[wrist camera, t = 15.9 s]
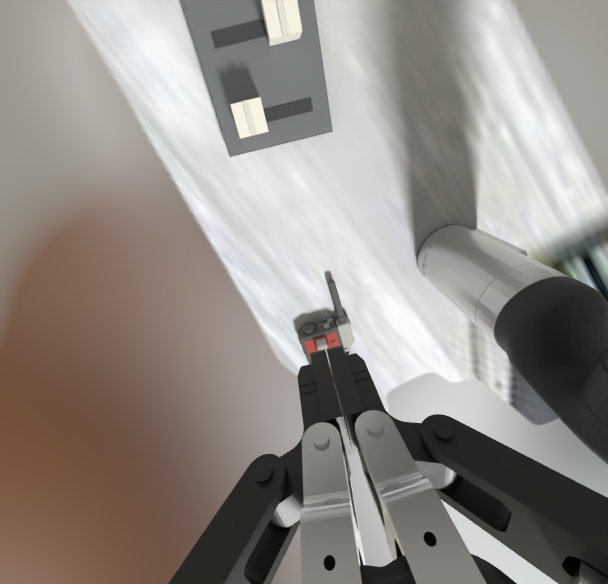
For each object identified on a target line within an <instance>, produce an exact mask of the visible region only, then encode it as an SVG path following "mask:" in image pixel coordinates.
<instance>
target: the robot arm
mask: <svg viewBox="0 0 608 584" xmlns="http://www.w3.org/2000/svg"><path fill="white" fill-rule="evenodd" d="M417 262H418V268H419V270H420V272H421V274H422V275H423V276H424V277H425V278H426V279H427V280H428V281H429V282H430V283H432V284H433V285H434V286H435V287H436V288H437V289H438V290H439V291H440V292H441V293H442V294H443V295H444V296H446V297H447V298H448V299H449V300H450V301H451V302H452V303H453V304H454V305H455V306H456V307H458V308H459V309H460V310H461V311H462V312H463V313H464V314H465V315H466V316H467V317H468V318H470V319H471V320H472V321H473V322H474V323H475V324H476V325H477V326H478V327H479V328H480V329H482V330H483V331H484V332H485V333H486V334H487V335H488V336H489V337H490V338H491V339H493V340H494V341H495V342H496V343H497V344H498V345H499V346H500V347H501V348H502V349H503V350H504V351H505V352H506V353H507V355H508V358H509V360H510V363H511V365H512V366H513V368H514V369H515V371H516V372H517V373H518V374H519V376H520V377H521V378H522V379H523V380H524V381H525V382H526V383H527V384H528V385H529V386H530V387H531V388H532V389H533V391H534V392H535V393H536V394H537V395H538V396H539V397H540V398H541V399H542V400H543V401H544V402H545V403H546V404H547V405H548V407H549V408H550V409H551V410H552V411H553V412H554V413H555V414H556V415H557V416H558V417H559V418H560V419H561V421H563V423H564V424H565V425H566V426H567V427H568V428H569V429H570V430H571V431H572V432H573V433H574V434H575V435H576V436H577V437H578V438H579V439H580V440H581V441H582V442H583V443H584V444H585V445H586V446H587V447H588V448H589V449H590V450H591V451H592V452H594V453H595V454H596V455H597V456H598V457H599V458H600V459H602V460H603V461H604V462H605V463H607V464H608V302H607V301H606V299H605V298H604V296H603V295H602V294H601V293H599V292H598V291H597V290H595V289H594V288H592V287H590V286H588V285H586V284H584V283H582V282H580V281H578V280H576V279H573V278H571V277H569V276H567V275H565V274H563V273H561V272H559V271H557V270H555V269H553V268H550V267H548V266H546V265H544V264H542V263H540V262H538V261H536V260H533V259H531V258H529V257H527V252H526V251H525V250H523V249H521V248H518V247H516V246H514V245H512V244H510V243H508V242H505V241H503V240H501V239H499V238H497V237H494V236H492V235H490V234H488V233H486V232H484V231H481V230H479V229H477V228H476V229H469V228H466V227H464V226H461V225H449V226H445V227H443V228H441V229H438V230H437V231H435V232H434V233H432V234H431V235H430V236H429V237H428V238H427V239H426V241H425V242H424V243H423V245H422V247H421V249H420V251H419V254H418V261H417ZM326 350H327V354H328V358H329V362H328V358H327V354H326V351H325V349H322V350H318V351H314V352H310V357H311V362H312V364H310V365H306V366H302V367H301V368H300V371H299V374H298V384H299V392H300V400H301V408H302V416H303V423H304V432H303V436H302V439H301V440H300V442H299V443H298V444H297V446H296V447H295V448H294V449H292V450H291V451H289V452H287V453H286V454H284V455H283V456H281V457H278V456H276V455H273V454H265V455H262V456H260V457H258V458H256V459H255V460H254V461H253V462H252V463H251V464H250V466H249V467H248V468H247V470H246V471H245V473H244V474H243V476H242V477H241V479H240V480H239V481H238V483H237V484H236V486H235V487H234V489H233V490H232V492H231V493H230V495H229V496H228V498H227V499H226V500H225V502H224V503H223V505H222V506H221V508H220V509H219V511H218V512H217V514H216V515H215V516H214V518H213V519H212V521H211V522H210V524H209V525H208V527H207V528H206V530H205V531H204V533H203V534H202V535H201V537H200V538H199V540H198V541H197V543H196V544H195V546H194V547H193V549H192V550H191V552H190V553H189V555H188V556H187V557H186V559H185V560H184V562H183V563H182V565H181V566H180V568H179V569H178V571H177V572H176V574H175V575H174V576H173V578H172V579H171V581H170V582H169V584H271V582H272V580H273V578H274V576H275V574H276V572H277V569H278V567H279V565H280V563H281V561H282V559H283V557H284V555H285V553H286V551H287V549H288V547H289V545H290V543H291V541H292V539H293V537H294V535H295V533H296V530H297V528H298V526H299V524H300V535H301V580H302V581H301V582H302V584H516V583H515V582H514V581H513V580H511V579H510V578H509V577H508V576H507V575H505V574H504V573H503V572H502V571H500V570H499V569H498V568H496V567H495V566H493V565H492V564H490V563H489V562H487V561H485V560H483V559H481V558H480V557H478V556H475V555H473V554H470V552H469V551H468V549H467V547H466V545H465V543H464V541H463V540H462V538H461V536H460V534H459V532H458V530H457V529H456V527H455V525H454V523H453V522H452V519H451V518H450V516H449V514H448V512H447V510H446V509H445V507H444V505H443V503H442V501H441V499H442V500H443V501H444V502H446V503H447V504H449V505H450V506H451V507H453V508H454V509H455V510H457V511H458V512H460V513H461V514H462V515H464V516H465V517H467V518H468V519H470V520H471V521H472V522H474V523H475V524H476V525H478V526H479V527H481V528H482V529H483V530H485V531H486V532H488V533H489V534H490V535H492V536H493V537H494V538H496V539H497V540H499V541H500V542H501V543H503V544H504V545H506V546H507V547H508V548H510V549H511V550H513V551H514V552H515V553H517V554H518V555H520V556H521V557H522V558H524V559H525V560H527V561H528V562H529V563H531V564H532V565H533V566H535V567H536V568H538V569H539V570H540V571H542V572H543V573H545V574H546V575H547V576H549V577H550V578H551V579H553V580H554V581H556V582H557V583H558V584H608V498H607V497H605V496H603V495H601V494H599V493H597V492H595V491H593V490H591V489H589V488H587V487H585V486H583V485H582V484H580V483H577V482H576V481H574V480H572V479H570V478H568V477H566V476H564V475H562V474H560V473H558V472H556V471H554V470H552V469H550V468H548V467H546V466H544V465H543V464H541V463H539V462H537V461H535V460H533V459H531V458H529V457H527V456H525V455H523V454H521V453H519V452H517V451H515V450H513V449H512V448H509V447H508V446H506V445H504V444H502V443H500V442H497V441H496V440H494V439H492V438H490V437H488V436H486V435H484V434H482V433H480V432H478V431H476V430H474V429H473V428H470V427H469V426H467V425H465V424H463V423H461V422H459V421H457V420H455V419H453V418H451V417H449V416H446V415H438V414H437V415H431V416H429V417H427V418H426V419H425V420H424V421H423V422H422V423H409V422H403V421H399V420H397V419H395V418H393V417H392V416H391V415H389V414H388V413H387V411H386V410H385V408H384V406H383V404H382V402H381V399H380V397H379V395H378V392H377V390H376V387H375V385H374V383H373V380H372V379H371V376H370V373H369V371H368V369H367V366H366V364H365V362H364V360H363V359H362V358H361V357H360V356H358V355H357V354H356V353H355V354H351V355H347V356H346V355H345V352H344V350H343V347H342V345H339V346H334V347H330V348H326ZM329 363H330V366H329ZM330 367H331V369H330ZM331 372H332V373H331ZM332 376H333V377H332ZM333 380H334V381H333ZM336 391H337V392H336ZM337 395H338V396H337ZM339 402H340V403H339ZM340 406H341V407H340ZM341 410H342V411H341ZM343 417H344V419H343ZM344 421H345V423H344ZM345 425H346V427H345ZM346 429H347V432H348V436H349V440H350V444H351V447H352V451H353V454H354V453H359V456H360V459H361V463H362V467H363V472H364V476H365V478H366V481H367V484H368V487H369V490H370V492H371V495H372V498H373V501H374V503H375V506H376V509H377V512H378V515H379V517H380V520H381V523H382V526H383V528H384V531H385V535H386V538H387V542H388V545H389V548H390V551H391V554H392V557H393V560H394V561H392V562H391V563H389V564H388V565H386V566H384V567H375V566H367V565H366V563H365V558H364V552H363V548H362V542H361V537H360V532H359V526H358V520H357V514H356V508H355V502H354V496H353V490H352V484H351V479H350V476H351V472H350V466H349V462H348V458H347V455H351V450H350V445H349V441H348V437H347V432H346Z"/></svg>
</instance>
